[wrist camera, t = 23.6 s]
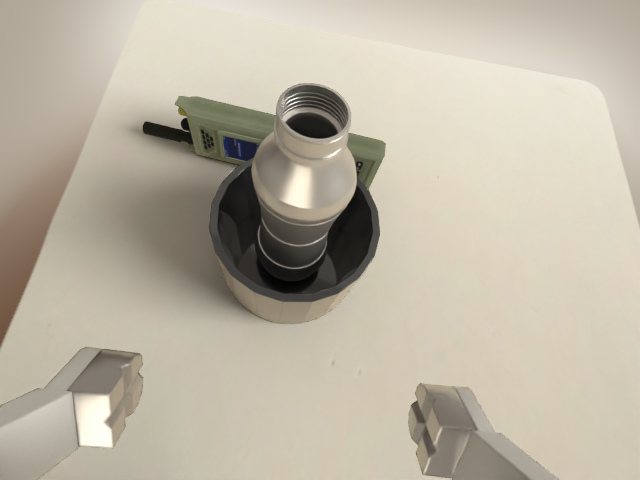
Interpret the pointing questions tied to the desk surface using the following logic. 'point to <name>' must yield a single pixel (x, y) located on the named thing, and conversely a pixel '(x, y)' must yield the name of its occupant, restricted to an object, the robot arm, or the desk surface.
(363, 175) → the handheld radio
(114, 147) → the desk surface
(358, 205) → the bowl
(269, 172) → the metal bottle
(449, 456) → the robot arm
